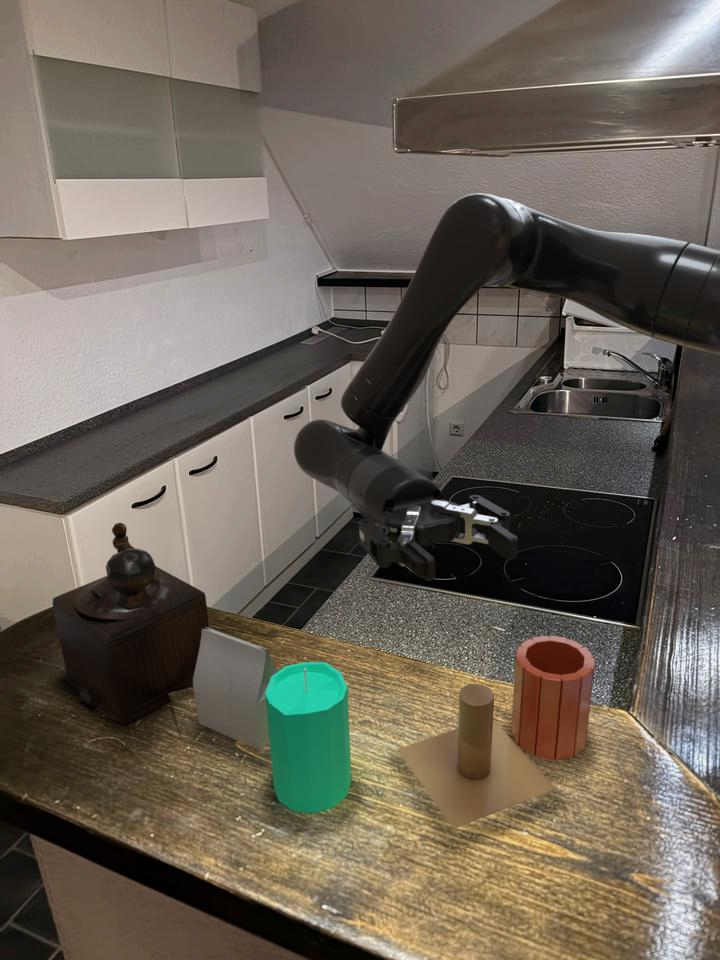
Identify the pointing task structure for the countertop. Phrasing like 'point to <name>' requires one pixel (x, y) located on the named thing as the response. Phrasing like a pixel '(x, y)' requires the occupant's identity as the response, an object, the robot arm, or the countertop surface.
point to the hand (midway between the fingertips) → (474, 560)
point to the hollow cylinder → (552, 696)
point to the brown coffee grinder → (130, 634)
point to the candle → (309, 736)
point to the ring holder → (474, 764)
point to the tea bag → (233, 687)
